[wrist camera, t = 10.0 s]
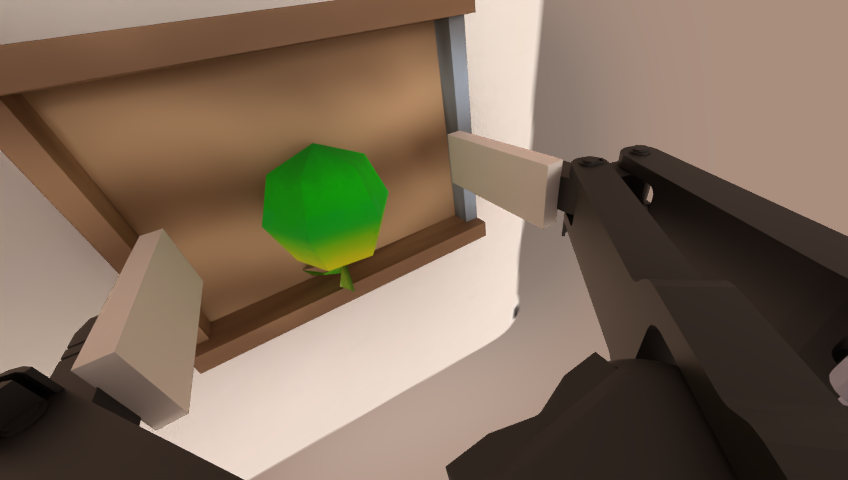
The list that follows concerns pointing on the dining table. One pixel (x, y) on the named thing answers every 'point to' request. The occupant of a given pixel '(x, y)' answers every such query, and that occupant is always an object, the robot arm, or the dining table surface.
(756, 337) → the robot arm
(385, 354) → the dining table surface
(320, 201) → the apple
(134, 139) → the frame
